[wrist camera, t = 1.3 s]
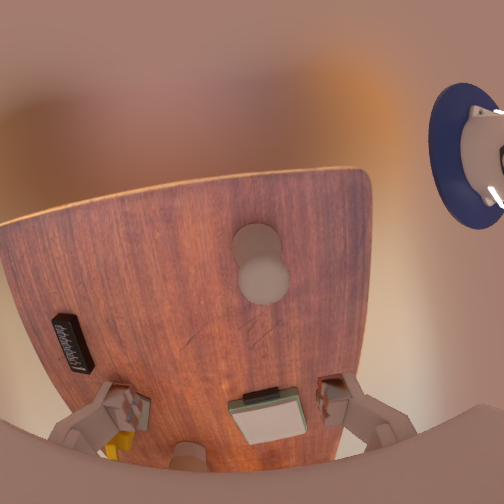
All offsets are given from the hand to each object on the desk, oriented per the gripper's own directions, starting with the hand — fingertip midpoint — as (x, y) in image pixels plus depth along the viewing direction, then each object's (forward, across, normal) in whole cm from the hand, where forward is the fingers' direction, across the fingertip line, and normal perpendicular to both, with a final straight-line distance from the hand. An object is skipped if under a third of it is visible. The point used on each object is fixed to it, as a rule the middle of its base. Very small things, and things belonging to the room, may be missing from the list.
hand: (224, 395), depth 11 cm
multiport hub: (+25, +29, +15) cm, 41 cm away
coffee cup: (+25, +15, +46) cm, 54 cm away
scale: (+24, -3, +33) cm, 41 cm away
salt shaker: (+25, -3, 0) cm, 25 cm away
